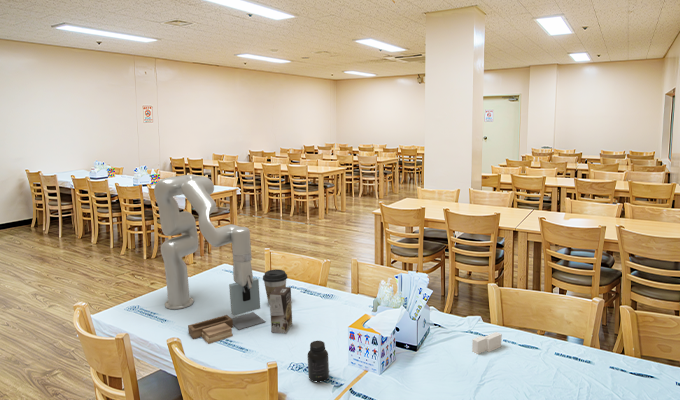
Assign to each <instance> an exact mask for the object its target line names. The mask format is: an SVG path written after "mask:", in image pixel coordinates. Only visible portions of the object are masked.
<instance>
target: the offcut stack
mask: <svg viewBox="0 0 680 400" xmlns="http://www.w3.org/2000/svg"><path fill="white" fill-rule="evenodd" d="M231 337H234V336H233V328H231V327H229V326H228V325H227V324H226V323H222V324H219V325H216V326H212V327H209V328H206V329H203V330H202V337H201V338H202V340H204V341H205V343H207V344H213V343H216V342H219V341H222V340H225V339H228V338H231Z"/></svg>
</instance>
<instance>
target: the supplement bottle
mask: <svg viewBox="0 0 680 400" xmlns="http://www.w3.org/2000/svg"><path fill="white" fill-rule="evenodd" d="M329 365H330V363H329V352H328V350H326V344H325V342H324V341H322V340H313V341H311V342H310V344H309V350H308V352H307V375H308V379H309V378H310V379H311V380H313V381H317V382H319V383H321V382H320V381H324V380H326V379H327V378H328V379H329V377H330V367H329ZM310 379H309V380H310ZM328 379H327V380H328ZM311 380H310V381H311ZM327 380H326V381H327ZM313 381H312V382H313ZM317 382H316V383H317ZM324 382H325V381H324Z"/></svg>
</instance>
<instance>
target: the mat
mask: <svg viewBox="0 0 680 400" xmlns="http://www.w3.org/2000/svg"><path fill="white" fill-rule="evenodd" d="M230 318H231V319H232V320H233V328H234V327H235V329H236V330H237V331H241V330H245V329H249V328H252V327H255V326H258V325H262V324H265V323H266V322H267V321H266V320H264V318H262V317H260V315H258V314H257V313H255V312H254V311H251V312H247V313H244V314H240V315H236V316H233V317H230Z"/></svg>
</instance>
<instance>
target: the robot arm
mask: <svg viewBox="0 0 680 400" xmlns="http://www.w3.org/2000/svg"><path fill="white" fill-rule="evenodd" d="M214 190H215V185H214V182H213V181H212V179H210V177H207V176H201V175H194V174H185V175H184V174H183V175H178V176H170V177H166V178H161V179H159V180H158V181H157V182H156V183H155V185H154V190H153V194H154V198H155V200H156V204H157V207H158V208H157V209H158V215H159V222H160V227H161V231H162V234H163V235H164V236H167V237H171V236H175V237H171V238H169V239H167V240H165V241H164V242H163V243H162V244H161V246H160V253H161V257H162V260H163V263H164V264H163V265H164V271H165V281H166V290H167V291H166V292H167V293H166V294H167V300H166V302H164V306H165V308H166V309H167V310H168V309H169V310H180V309H185V308H188V307H190V306H192V305H193V304H194V299H193V298H192V297H190V288H189V287H190V286H189V273H188V266H187V264H186V262H185V261H184V259H183V258H184V257H186V256H188V255H192V254H194V253H196V252H197V251H198V249H199V237H198V235H199V234H198V229H197V222H196V219H195V217H194V215H193V214H192V213H191V212H190V211H180V208H179V206H180V205H179V203H178V201H177V200H176V199H175V198H174V197H176V196H177V197H178V196H184V197H185V198H186V200H187V201H188V202H189V203H190V205H191V206H192V207H193V209H194V210H195V211H196V213H197V214H198V219H197V221H198V228H199V231H200V233H201V235H202V236H203V237H204V239H205V240H206V241H207V243H208V244H209V245H211V246H212V247H215V248H219V247H222V246H225V245H228V244H231V249H232V251H231V252H232V261H233V262H232V264H233V265H232V266H233V267H232V268H233V269H232V271H233V281H234V283H238V284H239V285H240V286H242V287H243V292H242V293H243V301H248V300H250V299H251V297H250V289H251V288H252V286H251V284H253V278H254V276H253V268H252V260H253V259H252V245H251V242H252V241H251V231H250V230H251V229H250V228H248V227H246V226H238V225H236V224H231V223H230V224H226V225H222V226H220V227H217V228H216V227H215V226H214V225H213V222H212V221H211V219H210V215H211V214H212V213H213V212H214V211H215V209H216V208H217V203H216V201H215V199H213V197H212V196H211V195H212V194H213V193H214ZM180 234H181V235H180ZM176 235H179V236H176ZM246 283H247V284H246ZM245 286H247V287H246V288H245Z"/></svg>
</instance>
